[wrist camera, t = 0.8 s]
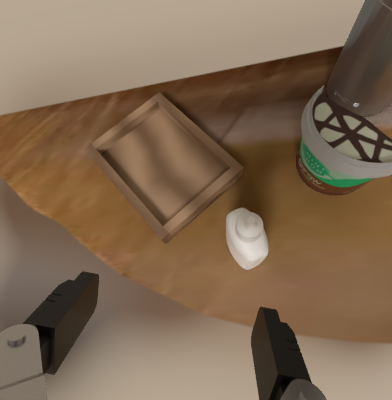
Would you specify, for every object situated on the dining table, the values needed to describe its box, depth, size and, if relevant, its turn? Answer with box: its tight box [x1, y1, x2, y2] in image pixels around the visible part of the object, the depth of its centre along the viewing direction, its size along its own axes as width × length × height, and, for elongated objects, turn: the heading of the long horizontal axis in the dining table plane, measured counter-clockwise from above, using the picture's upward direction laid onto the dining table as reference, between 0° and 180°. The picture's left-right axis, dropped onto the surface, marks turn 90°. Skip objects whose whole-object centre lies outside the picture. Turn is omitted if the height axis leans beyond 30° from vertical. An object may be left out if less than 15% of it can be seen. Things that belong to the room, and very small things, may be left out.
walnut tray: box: [85, 93, 244, 244], centre depth 38 cm, size 14×18×2 cm
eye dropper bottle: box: [226, 208, 269, 270], centre depth 28 cm, size 4×6×12 cm
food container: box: [296, 85, 392, 195], centre depth 31 cm, size 12×6×10 cm, turn 42°
